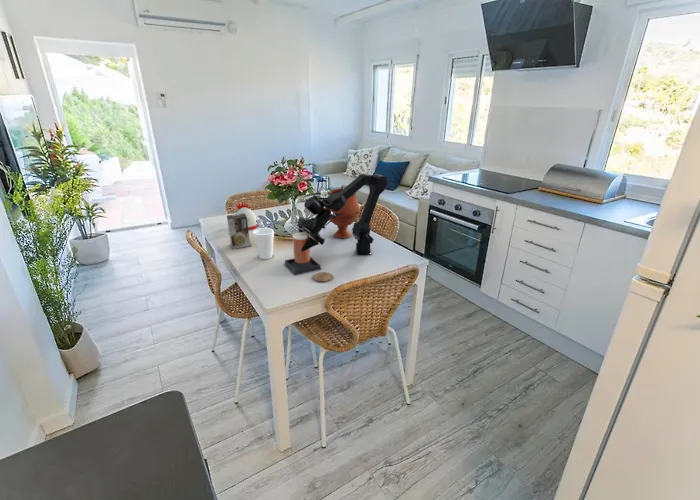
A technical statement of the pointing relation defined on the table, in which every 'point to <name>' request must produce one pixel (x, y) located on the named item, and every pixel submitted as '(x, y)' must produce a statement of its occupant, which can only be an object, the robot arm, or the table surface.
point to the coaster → (322, 277)
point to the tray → (302, 266)
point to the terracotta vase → (345, 215)
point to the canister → (300, 247)
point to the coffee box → (238, 230)
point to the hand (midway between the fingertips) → (298, 247)
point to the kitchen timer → (248, 215)
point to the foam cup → (264, 242)
